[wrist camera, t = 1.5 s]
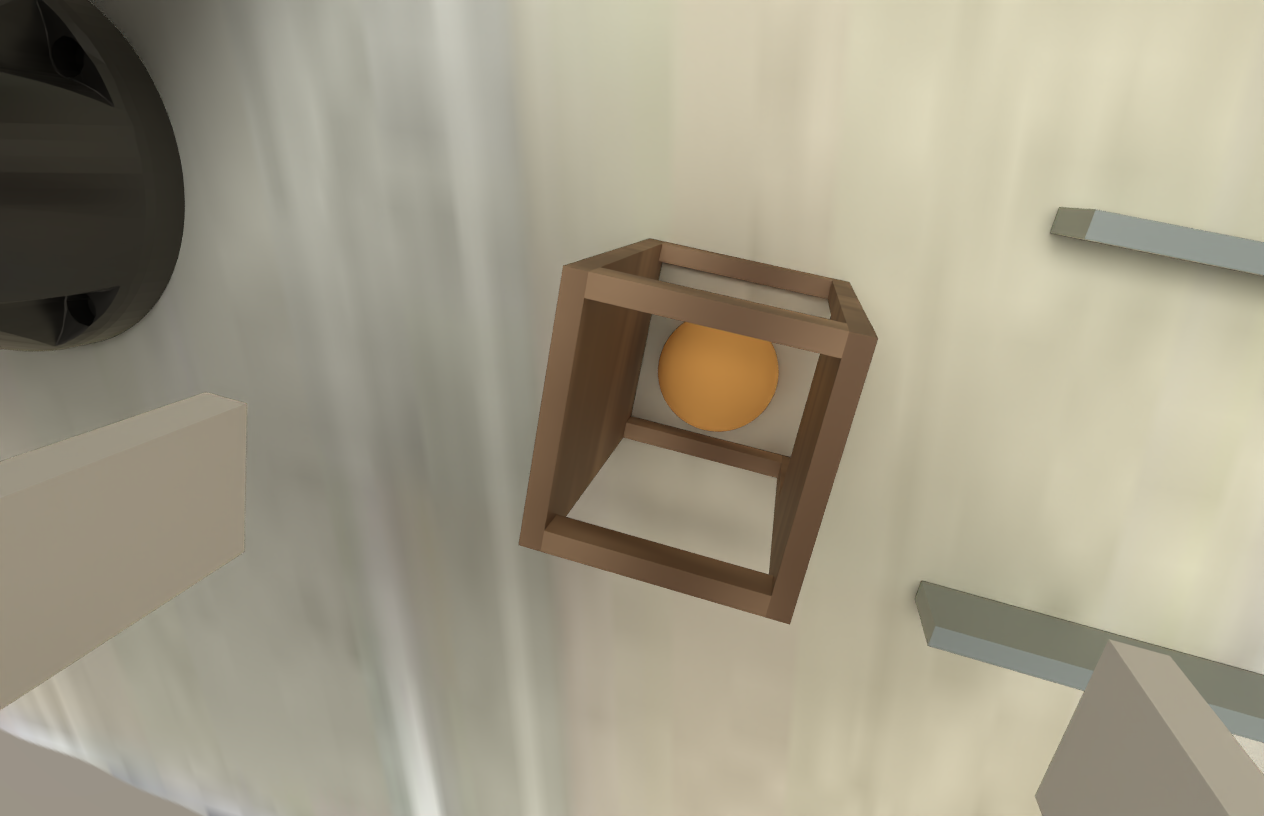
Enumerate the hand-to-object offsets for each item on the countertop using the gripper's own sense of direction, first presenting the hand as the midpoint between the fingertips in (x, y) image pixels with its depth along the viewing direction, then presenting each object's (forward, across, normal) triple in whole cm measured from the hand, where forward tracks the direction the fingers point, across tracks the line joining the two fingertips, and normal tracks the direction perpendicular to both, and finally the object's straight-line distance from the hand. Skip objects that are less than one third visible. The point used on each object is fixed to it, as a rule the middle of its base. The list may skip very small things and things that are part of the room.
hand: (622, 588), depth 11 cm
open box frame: (+16, 0, 0) cm, 16 cm away
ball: (+14, 0, 0) cm, 14 cm away
